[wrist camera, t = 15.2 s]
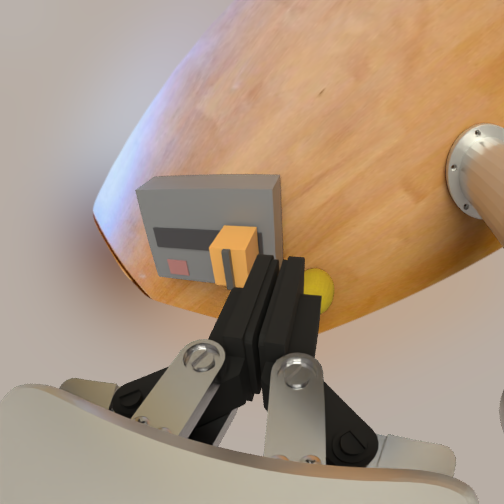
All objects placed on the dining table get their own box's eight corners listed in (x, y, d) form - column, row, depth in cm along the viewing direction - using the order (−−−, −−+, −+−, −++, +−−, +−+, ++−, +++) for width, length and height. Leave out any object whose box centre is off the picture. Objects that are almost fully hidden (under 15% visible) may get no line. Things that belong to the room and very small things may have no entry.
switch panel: (279, 174, 37) (271, 190, 33) (283, 267, 45) (276, 290, 40) (154, 176, 42) (134, 190, 37) (173, 257, 49) (158, 277, 45)
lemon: (300, 254, 43) (292, 290, 36) (339, 261, 42) (337, 300, 35) (294, 284, 46) (285, 322, 39) (330, 291, 45) (326, 330, 38)
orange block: (256, 226, 36) (243, 253, 31) (259, 262, 38) (247, 291, 34) (224, 225, 37) (206, 250, 32) (229, 260, 39) (213, 287, 35)
